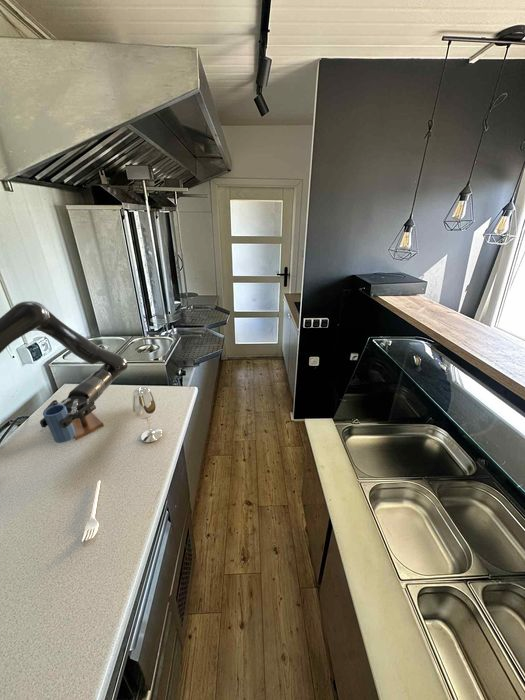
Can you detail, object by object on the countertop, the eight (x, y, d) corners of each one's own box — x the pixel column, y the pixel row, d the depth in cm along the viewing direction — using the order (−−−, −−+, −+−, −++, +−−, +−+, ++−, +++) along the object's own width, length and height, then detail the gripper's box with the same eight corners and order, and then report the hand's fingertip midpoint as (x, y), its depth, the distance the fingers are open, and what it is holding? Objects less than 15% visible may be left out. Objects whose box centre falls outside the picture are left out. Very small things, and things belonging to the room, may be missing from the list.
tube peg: (58, 445, 83) (46, 418, 79) (52, 437, 86) (40, 411, 82) (78, 435, 87) (68, 409, 83) (71, 427, 90) (61, 402, 86)
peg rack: (76, 439, 107) (69, 422, 103) (57, 418, 118) (50, 401, 115) (103, 425, 114) (98, 408, 110) (83, 406, 125) (77, 390, 121)
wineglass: (137, 435, 108) (125, 391, 100) (157, 425, 113) (147, 382, 104) (145, 446, 103) (133, 401, 94) (166, 435, 108) (156, 391, 99)
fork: (105, 480, 90) (103, 476, 90) (96, 542, 73) (94, 537, 73) (94, 483, 89) (92, 479, 89) (81, 546, 72) (79, 542, 72)
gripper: (64, 381, 95) (23, 414, 80) (105, 382, 95) (72, 415, 79) (71, 400, 99) (33, 434, 84) (111, 401, 98) (79, 436, 83)
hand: (52, 425), depth 82 cm, fingers closed on tube peg, 5 cm apart
